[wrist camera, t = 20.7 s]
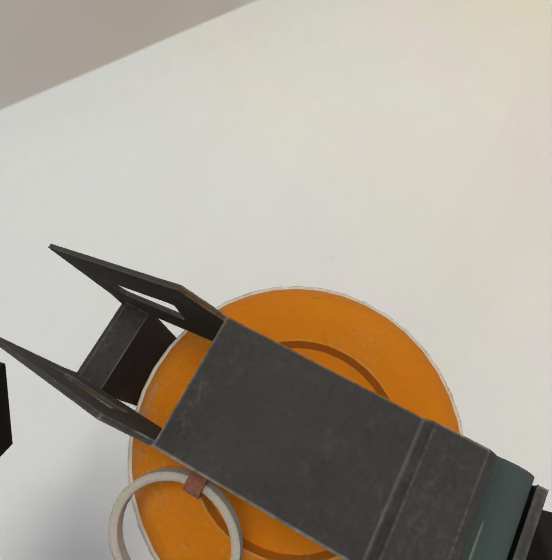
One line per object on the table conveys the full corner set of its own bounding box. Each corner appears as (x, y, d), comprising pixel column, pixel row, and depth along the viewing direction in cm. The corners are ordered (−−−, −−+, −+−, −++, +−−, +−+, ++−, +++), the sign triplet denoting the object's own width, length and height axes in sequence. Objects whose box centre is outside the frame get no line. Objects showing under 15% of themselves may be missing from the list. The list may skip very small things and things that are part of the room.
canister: (331, 587, 24) (499, 1084, 5) (137, 470, 26) (-276, 504, 7) (406, 414, 26) (704, 306, 7) (224, 320, 28) (97, 45, 9)
